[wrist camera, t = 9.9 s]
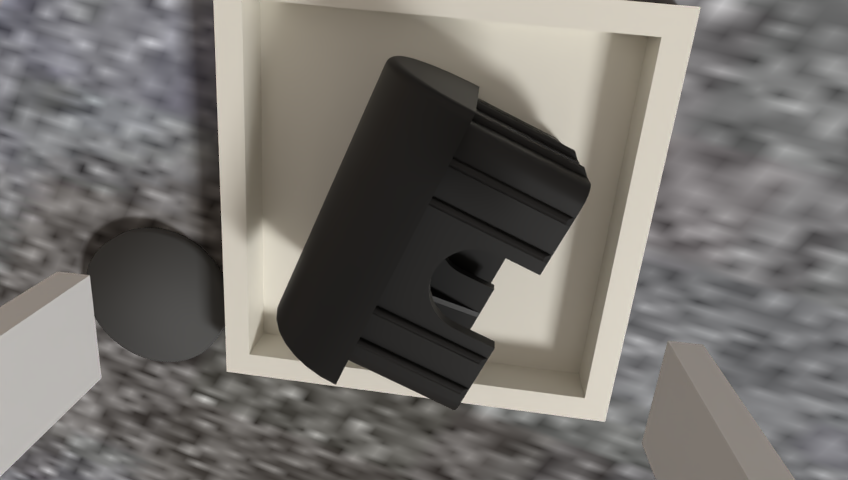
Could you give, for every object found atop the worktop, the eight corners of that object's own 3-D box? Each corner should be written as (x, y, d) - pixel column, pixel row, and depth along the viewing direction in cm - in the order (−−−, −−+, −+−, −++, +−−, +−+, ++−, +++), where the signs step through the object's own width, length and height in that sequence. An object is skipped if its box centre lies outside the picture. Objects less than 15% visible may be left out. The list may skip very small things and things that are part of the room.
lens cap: (106, 341, 30) (93, 352, 29) (91, 217, 28) (77, 224, 27) (234, 358, 30) (226, 370, 29) (230, 233, 27) (221, 241, 26)
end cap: (405, 45, 23) (372, 60, 16) (575, 132, 23) (607, 180, 17) (306, 266, 26) (248, 348, 20) (455, 337, 27) (443, 440, 21)
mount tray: (247, 343, 29) (227, 371, 26) (239, -33, 23) (212, -37, 21) (595, 388, 28) (605, 421, 25) (679, 7, 22) (700, 7, 20)
